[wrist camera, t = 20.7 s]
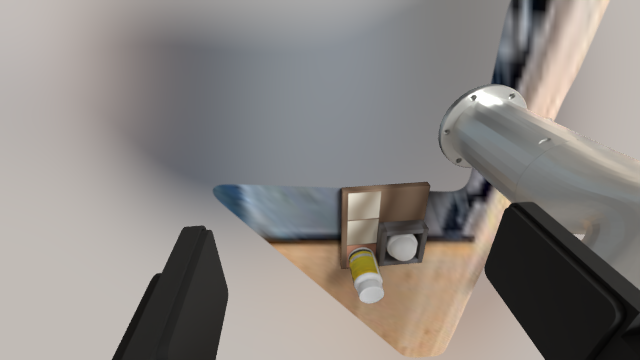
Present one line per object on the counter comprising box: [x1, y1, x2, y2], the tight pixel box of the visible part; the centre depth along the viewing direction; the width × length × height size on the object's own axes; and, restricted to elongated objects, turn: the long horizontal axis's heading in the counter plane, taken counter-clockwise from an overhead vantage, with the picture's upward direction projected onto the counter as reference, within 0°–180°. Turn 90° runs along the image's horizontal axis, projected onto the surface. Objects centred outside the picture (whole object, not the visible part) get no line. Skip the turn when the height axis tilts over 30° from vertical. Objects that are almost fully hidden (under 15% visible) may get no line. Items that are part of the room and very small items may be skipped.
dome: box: [386, 234, 418, 261], centre depth 51 cm, size 5×5×4 cm
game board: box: [341, 182, 430, 269], centre depth 52 cm, size 14×17×4 cm
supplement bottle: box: [348, 247, 384, 303], centre depth 51 cm, size 5×5×8 cm
